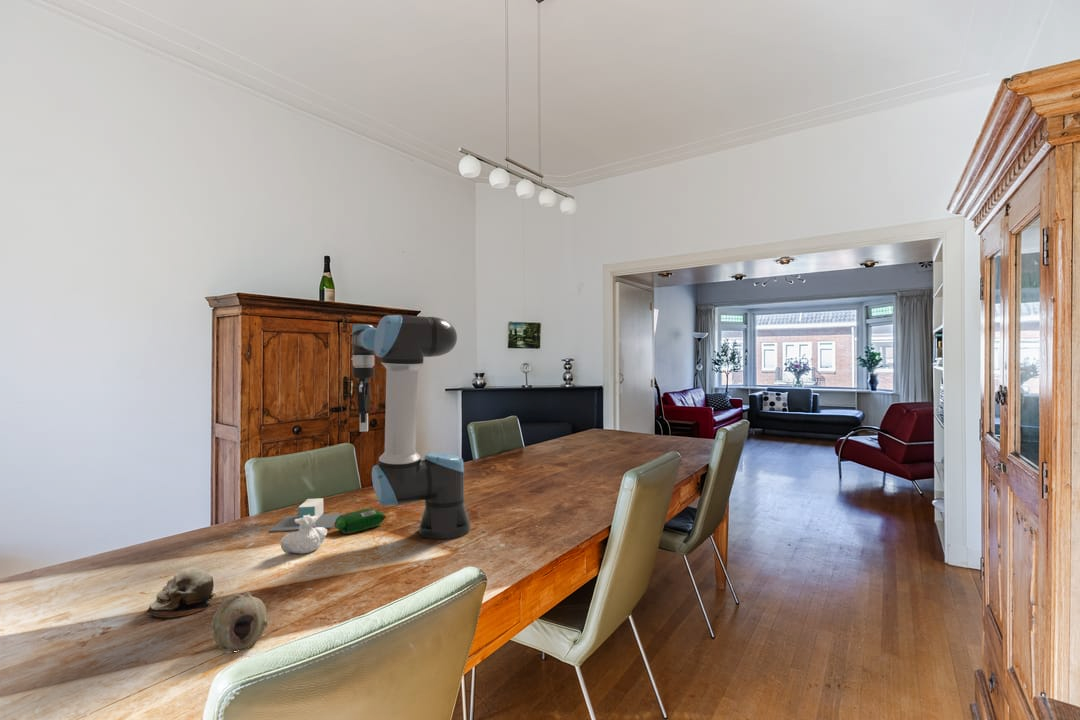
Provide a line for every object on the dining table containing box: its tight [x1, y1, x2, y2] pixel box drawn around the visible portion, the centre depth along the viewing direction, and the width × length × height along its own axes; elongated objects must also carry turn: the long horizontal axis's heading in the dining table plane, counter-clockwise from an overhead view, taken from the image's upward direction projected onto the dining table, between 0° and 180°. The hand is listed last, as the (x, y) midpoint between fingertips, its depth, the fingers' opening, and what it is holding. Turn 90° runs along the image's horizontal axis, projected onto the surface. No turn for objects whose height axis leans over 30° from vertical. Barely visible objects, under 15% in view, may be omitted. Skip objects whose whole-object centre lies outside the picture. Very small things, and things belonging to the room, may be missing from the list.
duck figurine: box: [279, 514, 328, 555], centre depth 134 cm, size 12×8×11 cm
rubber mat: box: [268, 512, 344, 533], centre depth 158 cm, size 14×18×1 cm
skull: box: [147, 566, 218, 619], centre depth 105 cm, size 12×10×10 cm
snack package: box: [333, 508, 387, 535], centre depth 153 cm, size 7×16×5 cm, turn 135°
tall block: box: [297, 497, 324, 521], centre depth 161 cm, size 5×5×10 cm
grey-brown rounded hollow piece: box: [211, 591, 270, 654], centre depth 90 cm, size 9×8×10 cm
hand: (363, 431), depth 180 cm, fingers closed
